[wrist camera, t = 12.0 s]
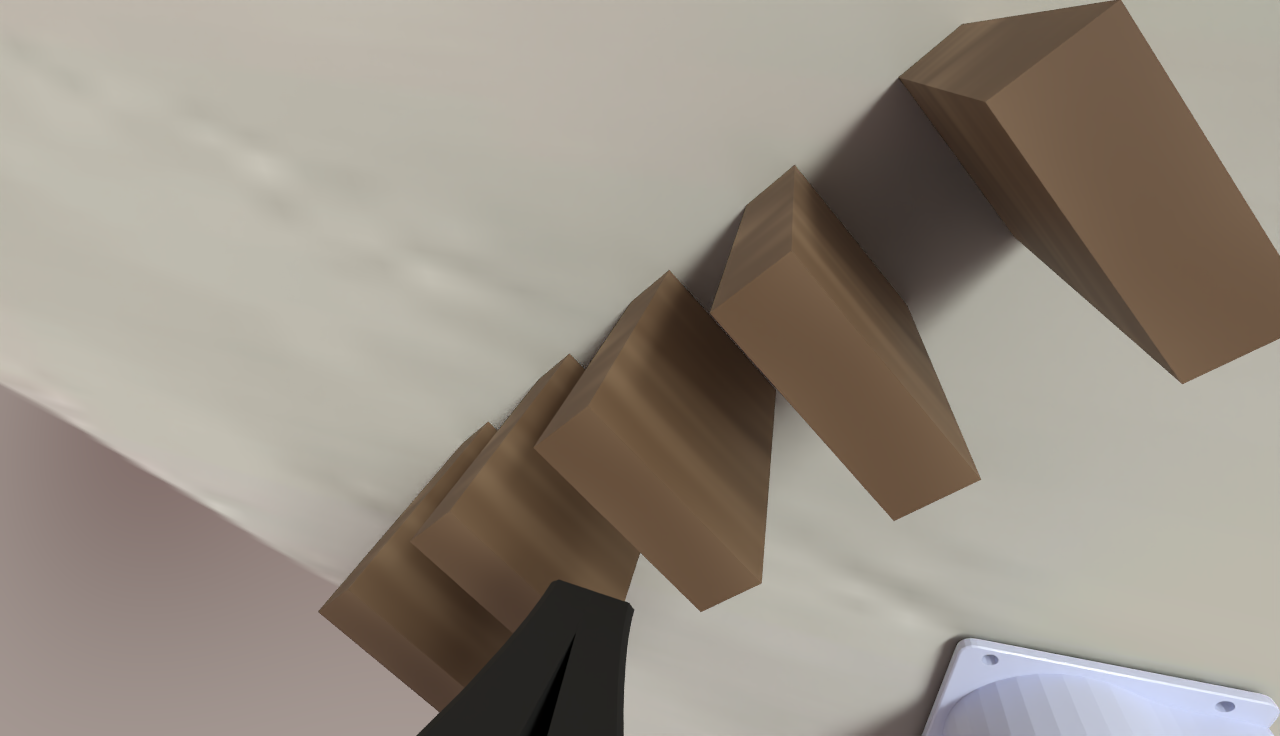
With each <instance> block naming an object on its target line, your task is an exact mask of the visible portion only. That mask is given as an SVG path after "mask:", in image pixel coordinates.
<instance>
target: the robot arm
mask: <svg viewBox="0 0 1280 736" xmlns="http://www.w3.org/2000/svg"><path fill="white" fill-rule="evenodd" d="M633 613H634V609H633V608H632V606H631V605H630V603H628V602H625V601H622V600H619V599H616V598H613V597H610V596H607V595H604V594H601V593H598V592H595V591H592V590H589V589H586V588H583V587H580V586H577V585H574V584H571V583H568V582H565V581H562V580H556V581H553V582H551V584H550V585H549V587H548V588H547V590H546V591H545V593H544V594H543V596H542V597H541V598H540V600H539V601H538V603H537V604H536V605H535V607H534V608H533V609H532V611H531V612H530V613H529V614H528V616H527V617H526V618H525V620H524V621H523V622H522V623H521V625H520V626H519V627H518V628H517V629H516V631H515V632H514V633H513V634H512V635H511V637H510V638H509V639H508V640H507V641H506V642H505V644H504V645H503V646H502V647H501V648H500V649H499V651H498V652H497V653H496V654H495V655H494V656H493V657H492V658H491V659H490V660H489V662H488V663H487V664H486V665H485V666H484V667H483V668H482V669H481V670H480V671H479V673H478V674H477V675H476V676H475V677H474V678H473V679H472V680H471V681H470V682H469V684H468V685H467V686H466V687H465V688H464V689H463V690H462V691H461V692H460V693H459V694H458V695H457V696H456V697H455V698H454V699H453V700H452V701H451V702H450V703H449V704H448V705H447V706H446V707H445V708H444V709H443V710H442V711H441V712H440V713H439V714H438V715H437V716H436V717H435V718H434V719H433V720H432V721H431V722H430V723H429V724H428V725H427V726H426V727H425V728H424V729H423V730H422V731H421V732H420V733H419V734H418V735H417V736H624V722H623V708H624V681H625V665H626V654H627V645H628V637H629V632H630V626H631V621H632V616H633ZM1279 714H1280V710H1279V708H1278V706H1277V705H1276V704H1275V702H1274V701H1273V700H1272V699H1271V698H1270V697H1269V696H1266V695H1263V694H1260V693H1254V692H1249V691H1244V690H1239V689H1234V688H1229V687H1224V686H1218V685H1213V684H1208V683H1203V682H1198V681H1193V680H1187V679H1182V678H1177V677H1172V676H1167V675H1162V674H1157V673H1151V672H1146V671H1141V670H1136V669H1131V668H1126V667H1120V666H1115V665H1110V664H1105V663H1100V662H1095V661H1090V660H1084V659H1079V658H1074V657H1069V656H1064V655H1059V654H1053V653H1048V652H1043V651H1038V650H1033V649H1028V648H1023V647H1017V646H1012V645H1007V644H1002V643H997V642H992V641H986V640H981V639H976V638H967V639H963V640H961V641H960V642H959V643H958V644H957V646H956V648H955V651H954V653H953V656H952V658H951V661H950V664H949V666H948V669H947V671H946V674H945V676H944V679H943V682H942V684H941V687H940V689H939V692H938V695H937V697H936V700H935V702H934V705H933V707H932V710H931V713H930V715H929V718H928V720H927V723H926V726H925V728H924V731H923V733H922V736H1274V735H1273V733H1272V732H1271V731H1270V729H1269V727H1270V726H1271V725H1272V724H1273V722H1274V721H1275V720H1276V719H1277V717H1278V716H1279Z"/></svg>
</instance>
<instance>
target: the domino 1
mask: <svg viewBox="0 0 1280 736" xmlns="http://www.w3.org/2000/svg"><path fill="white" fill-rule="evenodd" d="M496 432H497V430H496V429H495V428H494V427H493V426H492V425H491V424H490V423H489V422H487V423H486V424H485V425H484V426H483V427H481V428H480V429H479V430H478V431H477V432H475V433H474V434H473V435H472V436H471V437H470V438H468V439H467V440H466V441H465V442H464V443H463V444H462V445H461V446H460V447H459V448H458V449H457V450H456V452H455V453H454V454H453V455H452V456H451V457H450V459H449V460H448V461H447V462H446V463H445V464H444V466H443V467H442V468H441V469H440V470H439V471H438V473H437V474H436V475H435V476H434V477H433V478H432V480H431V481H430V482H429V483H428V484H427V485H426V487H425V488H424V489H423V490H422V491H421V492H420V494H419V495H418V496H417V497H416V498H415V499H414V501H413V502H412V503H411V504H410V505H409V506H408V508H407V509H406V510H405V511H404V512H403V513H402V515H401V516H400V517H399V518H398V519H397V520H396V522H395V523H394V524H393V525H392V526H391V527H390V528H389V530H388V531H387V532H386V533H385V534H384V535H383V537H382V538H381V539H380V540H379V541H378V542H377V544H376V545H375V546H374V547H373V548H372V549H371V551H370V552H369V553H368V554H367V555H366V556H365V558H364V559H363V560H362V561H361V562H360V563H359V565H358V566H357V567H356V568H355V569H354V570H353V572H352V573H351V574H350V575H349V576H348V577H347V579H346V580H345V581H344V582H343V583H342V584H341V586H340V587H339V588H338V589H337V590H336V591H335V593H334V594H333V595H332V596H331V597H330V598H329V600H328V601H327V602H326V603H325V604H324V605H323V607H322V608H321V609H320V610H319V613H320V614H321V615H323V616H324V617H325V618H326V619H327V620H329V621H330V622H331V623H332V624H333V625H335V626H336V627H337V628H338V629H339V630H341V631H342V632H343V633H344V634H346V635H347V636H348V637H349V638H350V639H352V640H353V641H354V642H355V643H356V644H358V645H359V646H360V647H361V648H362V649H364V650H365V651H366V652H367V653H369V654H370V655H371V656H372V657H373V658H375V659H376V660H377V661H378V662H379V663H381V664H382V665H383V666H384V667H386V668H387V669H388V670H389V671H390V672H391V673H393V674H394V675H395V676H396V677H398V678H399V679H400V680H401V681H402V682H404V683H405V684H406V685H407V686H408V687H410V688H411V689H412V690H413V691H414V692H416V693H417V694H418V695H419V696H421V697H422V698H423V699H424V700H425V701H427V702H428V703H429V704H430V705H431V706H433V707H434V708H435V709H436V710H437V711H439V712H441V711H442V710H443V709H444V708H445V707H446V706H447V705H448V704H449V703H450V702H451V701H452V700H453V699H454V698H455V697H456V696H457V695H458V694H459V693H460V692H461V691H462V690H463V689H464V688H465V687H466V686H467V685H468V684H469V682H470V681H471V680H472V679H473V678H474V677H475V676H476V675H477V674H478V673H479V671H480V670H481V669H482V668H483V667H484V666H485V665H486V664H487V663H488V662H489V660H490V659H491V658H492V657H493V656H494V655H495V654H496V653H497V652H498V651H499V649H500V648H501V647H502V646H503V645H504V644H505V642H506V641H507V640H508V639H509V638H510V637H511V635H512V634H513V633H512V632H511V631H510V630H509V629H507V628H506V627H505V626H504V625H503V624H502V623H501V622H500V621H498V620H497V619H496V618H495V617H494V616H493V615H492V614H491V613H489V612H488V611H487V610H486V609H485V608H484V607H483V606H482V605H480V604H479V603H478V602H477V601H476V600H475V599H474V598H473V597H472V596H470V595H469V594H468V593H467V592H466V591H465V590H464V589H463V588H461V587H460V586H459V585H458V584H457V583H456V582H455V581H454V580H452V579H451V578H450V577H449V576H448V575H447V574H446V573H445V572H443V571H442V570H441V569H440V568H439V567H438V566H437V565H436V564H434V563H433V562H432V561H431V560H430V559H429V558H428V557H427V556H425V555H424V554H423V553H422V552H421V551H420V550H419V549H418V548H416V547H415V546H414V545H413V544H412V543H411V542H410V540H411V539H412V538H413V537H414V535H415V534H416V533H417V532H418V530H419V529H420V528H421V527H422V525H423V524H424V523H425V522H426V520H427V519H428V518H429V517H430V515H431V514H432V513H433V512H434V510H435V509H436V508H437V507H438V505H439V504H440V503H441V502H442V500H443V499H444V498H445V497H446V495H447V494H448V493H449V492H450V490H451V489H452V488H453V486H454V485H455V484H456V483H457V481H458V480H459V479H460V478H461V476H462V475H463V474H464V473H465V471H466V470H467V469H468V468H469V466H470V465H471V464H472V463H473V461H474V460H475V459H476V458H477V456H478V455H479V454H480V453H481V451H482V450H483V449H484V448H485V446H486V445H487V444H488V443H489V441H490V440H491V439H492V438H493V436H494V435H495V434H496Z"/></svg>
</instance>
